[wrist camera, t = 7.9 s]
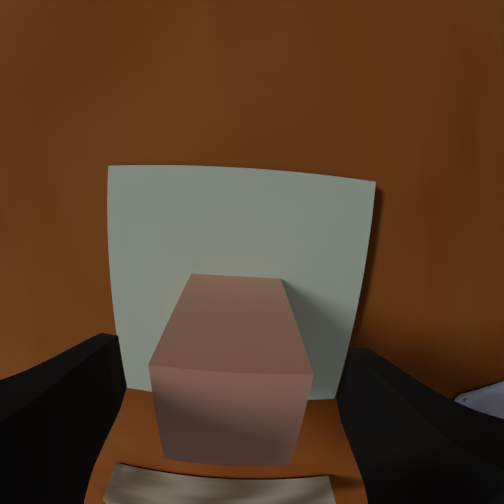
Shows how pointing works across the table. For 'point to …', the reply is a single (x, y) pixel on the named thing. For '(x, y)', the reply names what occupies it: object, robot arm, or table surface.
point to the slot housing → (211, 489)
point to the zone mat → (237, 251)
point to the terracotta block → (230, 374)
